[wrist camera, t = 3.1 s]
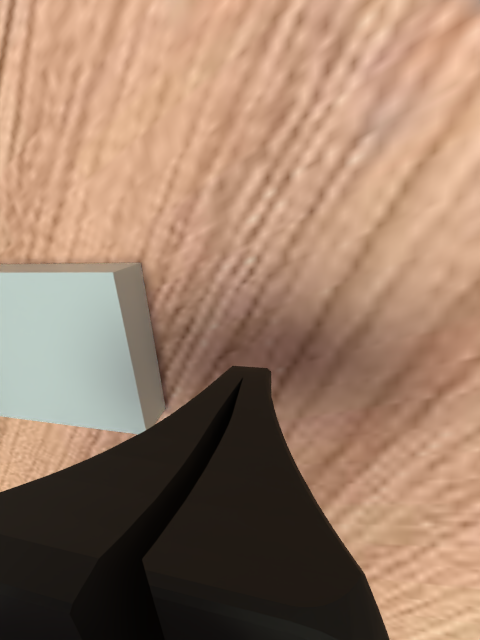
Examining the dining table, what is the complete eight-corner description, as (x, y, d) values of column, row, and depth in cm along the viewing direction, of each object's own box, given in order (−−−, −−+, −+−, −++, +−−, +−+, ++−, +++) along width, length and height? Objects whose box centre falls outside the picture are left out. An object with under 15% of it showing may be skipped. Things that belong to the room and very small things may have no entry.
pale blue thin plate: (169, 403, 16) (147, 435, 14) (37, 389, 18) (-1, 416, 16) (145, 260, 13) (112, 272, 11) (-8, 262, 15) (-64, 272, 13)
